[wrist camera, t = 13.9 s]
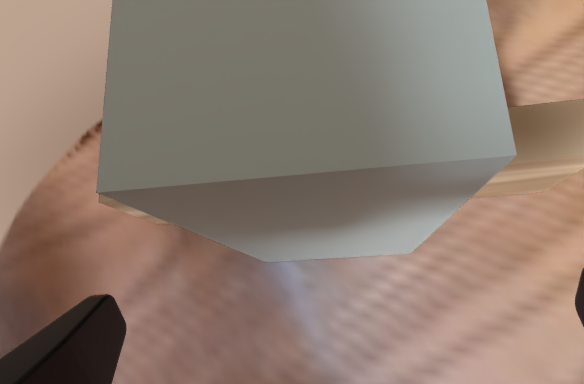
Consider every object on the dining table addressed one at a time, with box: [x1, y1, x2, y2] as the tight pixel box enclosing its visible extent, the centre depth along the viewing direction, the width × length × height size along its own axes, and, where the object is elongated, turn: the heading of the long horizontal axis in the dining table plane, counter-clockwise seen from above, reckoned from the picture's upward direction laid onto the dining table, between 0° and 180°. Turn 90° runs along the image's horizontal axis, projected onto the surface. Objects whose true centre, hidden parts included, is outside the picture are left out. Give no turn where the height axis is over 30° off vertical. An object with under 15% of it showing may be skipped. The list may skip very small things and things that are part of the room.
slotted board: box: [99, 99, 584, 225], centre depth 17 cm, size 2×18×5 cm, turn 93°
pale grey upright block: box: [96, 0, 517, 262], centre depth 13 cm, size 6×7×13 cm
